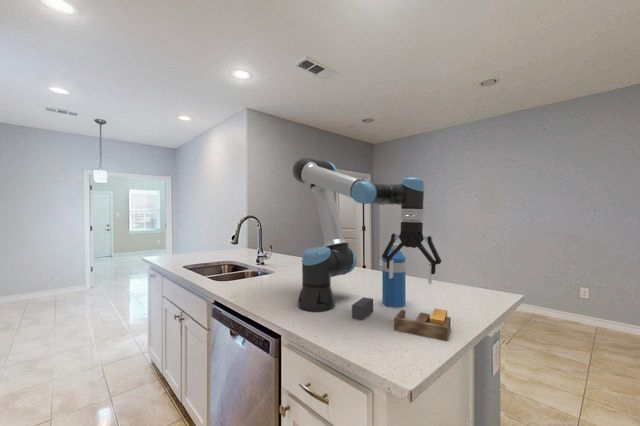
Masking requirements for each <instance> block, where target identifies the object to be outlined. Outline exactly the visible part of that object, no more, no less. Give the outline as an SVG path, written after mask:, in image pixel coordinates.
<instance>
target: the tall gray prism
mask: <svg viewBox="0 0 640 426" xmlns="http://www.w3.org/2000/svg"><path fill="white" fill-rule="evenodd" d="M373 312H374V299H373V298H371V297H362V298H360V299H359V300H357V301H356V302H354V303H353V304H352V305H351V315H352V316H351V319H354V320H358V321H363V320H365V319H366V318H367V317H368V316H369V315H371V314H372V313H373Z"/></svg>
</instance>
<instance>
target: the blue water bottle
mask: <svg viewBox="0 0 640 426" xmlns="http://www.w3.org/2000/svg"><path fill="white" fill-rule="evenodd" d="M399 244H400V243H394V244H393V246H392V248H391V250H390V251H389V253H388V256H389V255H390V254H391V253H392V252H393V251H394V250H395V249H396V248H397V247H398V245H399ZM381 259H382V261H381V263H382V270H381V272H382V291H381V292H382V295H381V296H382V304H383V305H384V306H386V307H390V308H403V307H405V306H406V296H407V295H406V294H407V293H406V290H407V289H406V256H405V255H404V254H403V252H402V251H401V249H400V250H399V251H398V252H397V253H396V254H395V255H394V257H393V258H392V259H391V260H394V262H393V278H391V279H390V278H389V269H387V260H386V259H385V258H383V257H382V256H381Z"/></svg>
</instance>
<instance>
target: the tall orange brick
mask: <svg viewBox="0 0 640 426" xmlns="http://www.w3.org/2000/svg"><path fill="white" fill-rule="evenodd" d="M446 317H448V310H447V309H442V308H434V309H433V310H432V314H430V323H432V324H438V325H444V323H445V320H446Z"/></svg>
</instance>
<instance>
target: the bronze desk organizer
mask: <svg viewBox="0 0 640 426" xmlns="http://www.w3.org/2000/svg"><path fill="white" fill-rule="evenodd" d="M430 317H431V314H430V313H425V312H419V314H418V316H417V318H416V319H409V318H406V310H405V309H401V310H400V311H399V312H398V314H396V315H395V317H394V318H393V331H396V332H401V333H407V334H412V335H417V336H422V337H427V338H431V339H436V340H441V341H446V342H447V341H448V339H449V335H450V332H451V329H452V328H451V316H450V317H449V316H447V317H446V320H445V323H444V325H438V324H432V323H430Z"/></svg>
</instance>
